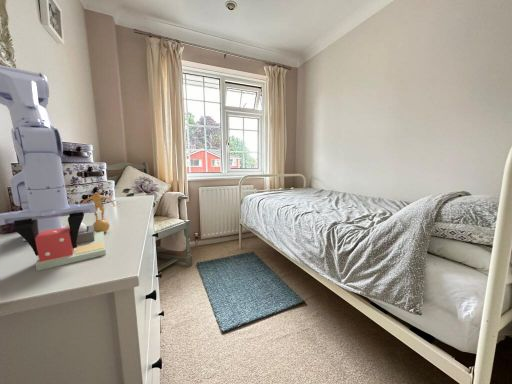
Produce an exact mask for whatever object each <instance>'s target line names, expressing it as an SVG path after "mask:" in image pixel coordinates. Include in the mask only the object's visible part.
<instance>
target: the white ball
mask: <svg viewBox="0 0 512 384" xmlns="http://www.w3.org/2000/svg"><path fill="white" fill-rule="evenodd" d="M86 226H87V224H85V223H84V222H83V221H82V222H81V225H80V228H79V232H78V233H84V232H87V227H86ZM66 227H69V223H67V224H66ZM66 227H65V228H66Z"/></svg>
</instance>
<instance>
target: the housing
mask: <svg viewBox="0 0 512 384" xmlns="http://www.w3.org/2000/svg"><path fill="white" fill-rule="evenodd" d="M86 227H87V232H84V233H78V238H77V244H82V243H87V242H92V241H95V233H96V232H95V231H94V225H93V224H91V225H86Z"/></svg>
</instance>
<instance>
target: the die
mask: <svg viewBox="0 0 512 384" xmlns="http://www.w3.org/2000/svg"><path fill="white" fill-rule="evenodd" d="M35 241H36V246H37V251H38V256H37V257H38V260H39V262H42V261H47V260H52V259H56V258H61V257H65V256H70V255H73V252H74V248H73V247H72V240H71V232H70V227H66V228H59V229H53V230H47V231H40V233H39V234H38V235H37V236H36V238H35Z"/></svg>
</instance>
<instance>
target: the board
mask: <svg viewBox="0 0 512 384" xmlns="http://www.w3.org/2000/svg"><path fill="white" fill-rule="evenodd" d="M105 238H106V237H105V232H104V231H103V232H97V233H96V232H95V241H92V242H87V243H82V244H77V248H74V252H73V255H70V256H65V257H61V258H56V259H52V260H47V261H42V262H39V259H38V261H37V262H36V264H35V268H36V272H38V271H42V270H47V269H50V268H54V267H55V268H56V267H59V266H63V265H67V264H72V263H76V262H80V261H81V262H82V261H85V260H89V259H94V258H96V257H97V258H98V257H101V256H106V255H107V253H106V241H105Z"/></svg>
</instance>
